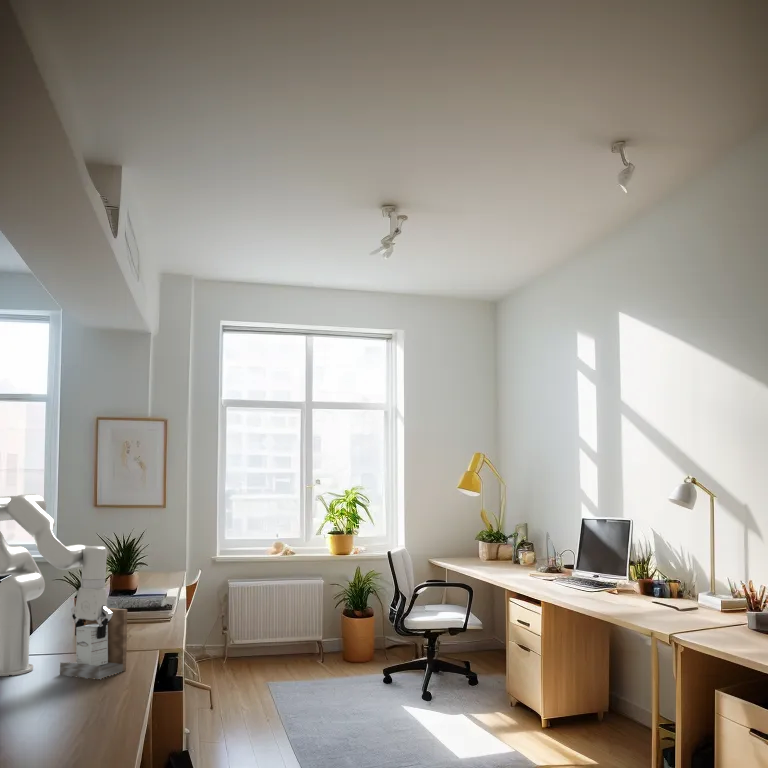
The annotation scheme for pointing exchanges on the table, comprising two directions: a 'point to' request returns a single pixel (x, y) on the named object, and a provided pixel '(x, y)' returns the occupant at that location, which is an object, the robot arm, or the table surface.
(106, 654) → the supplement box
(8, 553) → the robot arm
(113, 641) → the bookend
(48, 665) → the table surface
